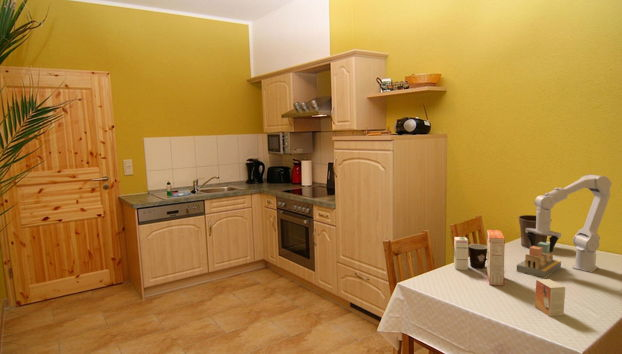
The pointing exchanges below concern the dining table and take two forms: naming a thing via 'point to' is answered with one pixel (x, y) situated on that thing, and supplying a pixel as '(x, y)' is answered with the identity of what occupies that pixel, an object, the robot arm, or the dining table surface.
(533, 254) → the brick block
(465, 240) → the syrup box
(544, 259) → the tan piece
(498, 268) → the cracker box
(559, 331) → the dining table surface
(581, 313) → the dining table surface
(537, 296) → the small box
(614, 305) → the dining table surface
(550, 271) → the dock
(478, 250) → the coffee mug
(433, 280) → the dining table surface
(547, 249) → the green cube
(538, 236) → the plant pot
